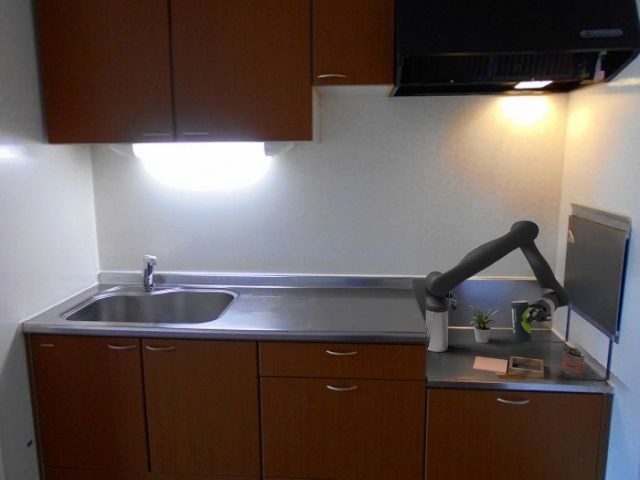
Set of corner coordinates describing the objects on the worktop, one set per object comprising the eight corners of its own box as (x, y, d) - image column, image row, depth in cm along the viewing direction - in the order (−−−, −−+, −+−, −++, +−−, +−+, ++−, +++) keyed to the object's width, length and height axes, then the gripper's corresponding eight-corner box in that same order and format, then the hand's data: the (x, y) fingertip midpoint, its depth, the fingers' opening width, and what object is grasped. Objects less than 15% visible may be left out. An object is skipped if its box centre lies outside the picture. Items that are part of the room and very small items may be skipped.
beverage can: (510, 340, 190) (507, 301, 191) (525, 338, 191) (522, 299, 192) (519, 343, 184) (516, 302, 185) (535, 341, 185) (532, 301, 186)
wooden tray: (508, 374, 187) (508, 367, 187) (510, 362, 198) (510, 356, 198) (543, 379, 183) (543, 372, 182) (543, 366, 194) (543, 360, 193)
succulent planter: (585, 376, 184) (587, 350, 183) (579, 378, 183) (581, 352, 181) (565, 368, 191) (566, 343, 190) (559, 370, 190) (561, 345, 188)
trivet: (472, 369, 192) (472, 367, 192) (476, 357, 203) (476, 356, 203) (505, 373, 188) (505, 372, 188) (507, 361, 199) (507, 360, 198)
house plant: (455, 339, 223) (456, 304, 221) (474, 332, 232) (475, 298, 229) (483, 349, 212) (484, 312, 209) (502, 341, 220) (503, 305, 218)
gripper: (524, 296, 201) (506, 307, 188) (560, 302, 191) (544, 314, 179) (523, 314, 202) (505, 326, 189) (559, 321, 193) (543, 334, 180)
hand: (524, 320), depth 184 cm, fingers closed on beverage can, 1 cm apart
